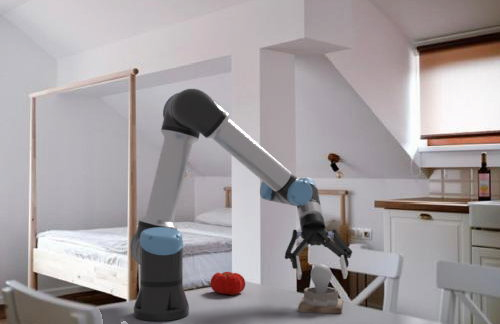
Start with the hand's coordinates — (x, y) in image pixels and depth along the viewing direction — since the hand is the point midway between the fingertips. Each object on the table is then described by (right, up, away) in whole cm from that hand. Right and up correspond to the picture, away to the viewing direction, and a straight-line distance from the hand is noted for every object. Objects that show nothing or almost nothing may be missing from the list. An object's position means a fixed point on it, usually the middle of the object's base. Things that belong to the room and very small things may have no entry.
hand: (322, 276), depth 176 cm
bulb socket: (0, -9, 0) cm, 9 cm away
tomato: (-28, -9, +20) cm, 36 cm away
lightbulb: (0, -8, 0) cm, 8 cm away
